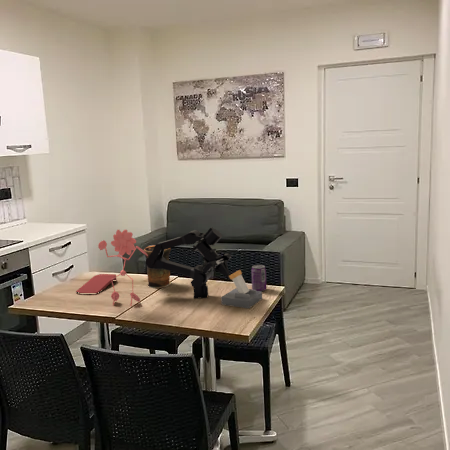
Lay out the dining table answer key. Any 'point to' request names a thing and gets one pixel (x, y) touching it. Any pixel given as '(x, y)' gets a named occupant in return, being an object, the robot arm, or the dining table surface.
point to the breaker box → (241, 298)
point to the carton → (97, 283)
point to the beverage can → (258, 277)
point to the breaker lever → (239, 282)
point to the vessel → (158, 271)
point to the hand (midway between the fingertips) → (229, 276)
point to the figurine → (122, 245)
